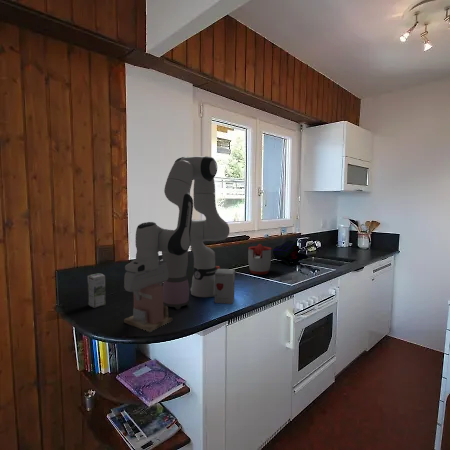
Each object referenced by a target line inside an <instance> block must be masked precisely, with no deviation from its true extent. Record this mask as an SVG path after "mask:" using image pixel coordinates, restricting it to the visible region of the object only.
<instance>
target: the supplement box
mask: <svg viewBox="0 0 450 450" xmlns="http://www.w3.org/2000/svg"><path fill="white" fill-rule="evenodd" d="M235 278H236V269H235V268H233V269H229V268H220V269H217V271H216V272H215V297H214V304H228V305H233V303H234V300H235V280H236V279H235Z"/></svg>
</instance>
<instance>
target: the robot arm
mask: <svg viewBox="0 0 450 450" xmlns="http://www.w3.org/2000/svg"><path fill="white" fill-rule="evenodd" d="M217 173H218V164H217V161H216V160H215V158H214V157H212V156H207V155H205V156H202V155H201V156H199V155H193V156H187V157H185V156H182V157H178V158H177V159H176V160H175V161H174V163H173V165H172V167H171V168H170V171H169V173H168V176H167V178H166V182H165V185H164V188H163V189H164V190H163V191H164V195H165V198H166V199H167V200H168V201H169V202H170V203H172V204H173V205H175V206H177V208H178V217H177V218H178V219H177V225H176V228H175V229H167V228H163V227H160V226H158V225H157V223H156V222H154V221H148V222H141V223H140V224H138V225H137V227H136V230H135V248H136V254H135V259H132V260H131V261H130V262H129V263H127V264H126V265H125V266H124V269H125V273H124V277H123V278H124V279H123V282H124V283H123V287H124V290H125V291H126V292H130V293H132V294H133V293H134V294H135V296H136V300H137V301H139V300H141V299H142V295H139V293H138V292H139V290H140V289H143V288H146V287H148V286H151V285H154V284H157V285H161V286H163V283H164V281H167V280H168V268H167V262H166V261H165V260H162V259H160V255H159V252H160V253H162V252H166V253H171V254H175V255H178V256H180V255H183V254H184V253H185V252H186V251H187V250H188V251H189V249H190V248H191V250H192V253H193V268H192V273H193V275H192V277H191V278H192V280H191V287H189V291H190V294H191V295H192V296H194V297H197V298H211V297H214V298H215V272H216V271H217V269H221V267H220V265H216V252H215V251H214V249H212V248H211V247H209V246H207V245H205V244H204V242H205V241H206V242H210V241H211V242H219V241H223V240H224V241H225V240H226V239H227V238H228V237H229V235H230V231H231V230H230V226H229V224H228V223H227V222H226V220H224V219H223V218H222V217H221V216H220V214H219V213H218V209H217V202H216V184H215V177H216V175H217ZM193 181H194V182H193ZM192 185H193V197H192V195H191V189H192ZM193 210H195V211H196V212H198V213H199V214H202V215H203V216H204V217H205V219H193Z"/></svg>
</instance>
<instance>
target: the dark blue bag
mask: <svg viewBox="0 0 450 450" xmlns="http://www.w3.org/2000/svg"><path fill="white" fill-rule="evenodd" d="M300 251H301V248H300V245H298V243H297V242H296V241H294V240H290V239H289V240H286V241H285V242H283V243H282V244H280V245H276V246H275V247H274V249H273V250H272V254H273V256H274V259H276V261H280V262H283V263H285V264H286V265H287V266H288V267H290V266H291V264H295V265H297V266H301V263H300V261H302V260H308V258H309V255H307V254H306V253H302V252H300Z"/></svg>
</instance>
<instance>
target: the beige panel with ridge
mask: <svg viewBox="0 0 450 450" xmlns="http://www.w3.org/2000/svg"><path fill="white" fill-rule="evenodd" d="M163 314H164V320H162V321H160V322H158V323H156V324H152V323H149V322H148V324H146V325H145V324H142V323H139V322H137V321H134V320H133V315H131V316H129V317H126V318H124V319H123V321H124V322H123V323H125V324H127V325H129V326H131V327H135V328H137V329H140V330H142V329H143V331H145V330H146V331H145V332H148V331H149V332H148V333H151V332H153V331H152V330H154V331H156V330H157V328H158V329H160V328H162V327H164V326H166V325H167V323H168V324H170V323H172V322H173V317H170V316H169V306H165V305H163ZM171 321H172V322H171ZM169 322H170V323H169ZM165 324H166V325H165ZM163 325H164V326H163ZM161 326H162V327H161ZM159 327H160V328H159ZM155 329H156V330H155ZM150 331H151V332H150Z"/></svg>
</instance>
